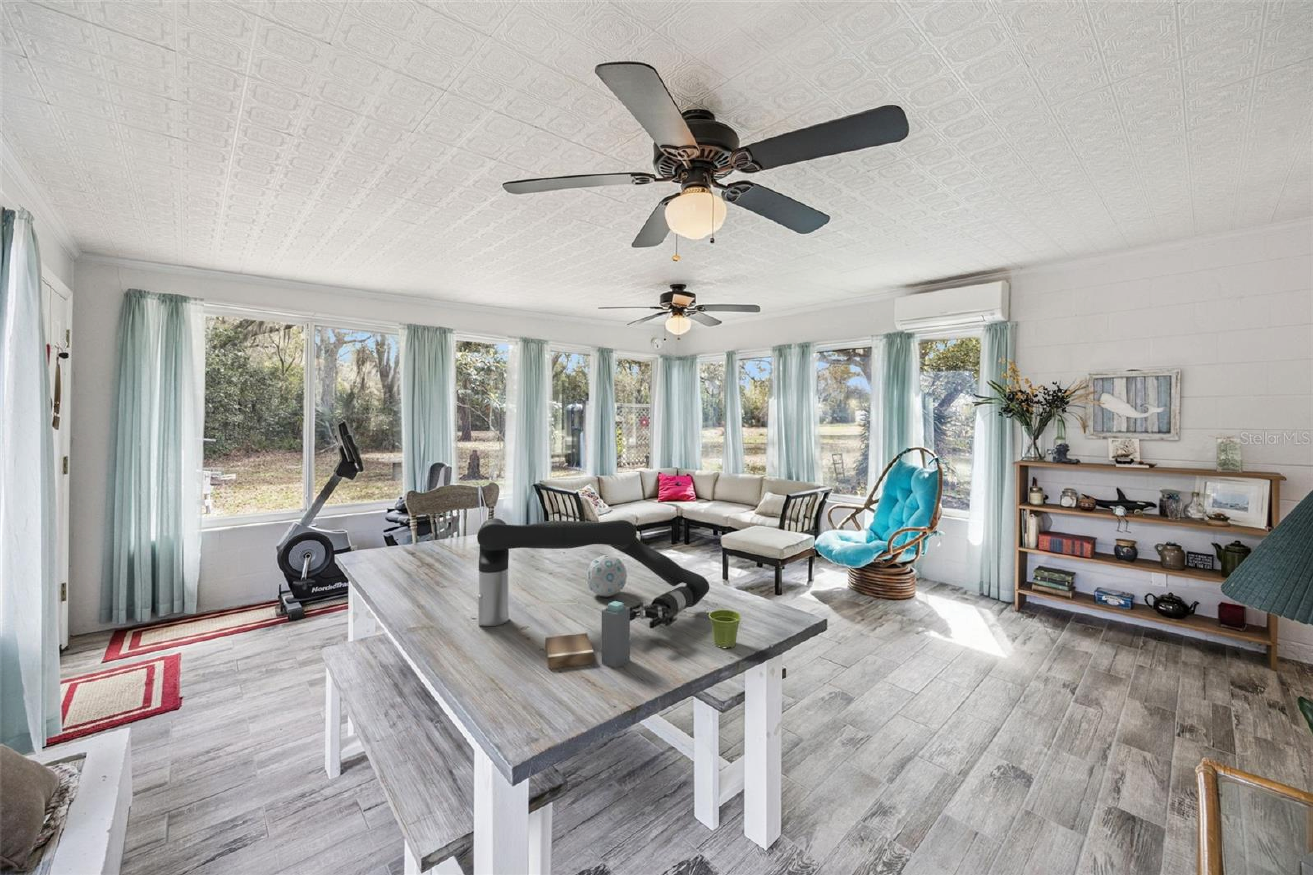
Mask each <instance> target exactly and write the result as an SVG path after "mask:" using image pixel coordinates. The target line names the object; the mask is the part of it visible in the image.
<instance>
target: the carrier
mask: <svg viewBox="0 0 1313 875" xmlns="http://www.w3.org/2000/svg"><path fill="white" fill-rule="evenodd" d="M630 629H631V621H630V608H629V606H625V605H624V610H622V611H620V612H618V613H612V612H609V611H608V607H606V608H604V609H602V610H601V664H603V665H606V666H609V667H611V668H614V669H617V668H619V667H621V666H622V665H624V664H625V663H627V662H628V661H630V659H631V658H630V656H631V652H630V650H631V648H630V647H631V645H630V644H631V640H630V637H631V635H630V634H631V630H630ZM620 665H621V666H620Z"/></svg>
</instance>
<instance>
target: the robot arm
mask: <svg viewBox="0 0 1313 875" xmlns="http://www.w3.org/2000/svg"><path fill="white" fill-rule="evenodd" d="M637 533H638V532H637V528H636V526H635V525H634V524H633V523H632V522H631V521H629V520H626V519H618V520H610V521H608V520H607V521H599V522H595V521H593V522H592V521H580V520H578V521H577V520H548V521H547V520H546V521H540V522H535V523H530V524H522V525H521V524H519V525H518V524H507V522H505V521H504V520H502V519H500V518H498V517H497V518H496V517H493V518H490V519H487V520H486V521H484V522H483V523H482V524H481V526H480V528H479V529H478V532H477V535H476V537H477V538H476V539H477V543H478V545H479V558H478V599H477V600H478V602H477V604H478V610H477V611H478V626H485V627H496V626H500V625H503V624H505V623H508V621H509V619H510V616H509V610H510V609H509V607H510V606H509V605H510V604H509V603H510V602H509V599H510V598H509V561H510V560H509V557H510V553H509V552H510V551H509V550H511V549H524V548H525V549H541V550H542V549H546V550H547V549H548V550H564V549H565V550H566V549H568V550H569V549H575V548H580V547H586V546H592V545H608V546H611V547H612V548H613V549H615V550H618V551H619V552H620V553H623V554H625V555H627V556H629V557H630V558H632V559H634V560H635V561H637V562H638V563H640V564H642V565H643V566H644V567H646V569H648V570H650V571H651V572H652V573H654V574H655V575H657V576H658V577H659V578H660V579H662V580H663V581H665V583H667V584H668V585H670V586H672V587H675V588H674V589H671V590H669V591H666V592H664V593H663V594H662V593H661V595H659V596H657V597H655V598H654V599H653V600H652V602H651V603H650V604H647V605H644V603H643V602H639V603H636V604H634V605H632V606H630V607H629V606H628V607H629V608H630V622H631V621H633V620H635V619H641V620H645V619H651V620H650V621H649V629H651V630H652V629H654V628H657V627H658V626H663V625H664V626H665V627H668V626H670V625H672V624H673V623H674V622H676V621H677V620H678V615H679V614H680V613H681V612H682V611H684V610H685V609H687V608H692V607H694V606H696V605H697V604H699V602H700V601H701V600H702V599H703V598H704V597H705V596H706V595H707V594H708V592H709V591H710V588H711V587H710V583H709V581H708V580H707V578H705V577H704V576H703V575H701V574H699V573H696V572H694V571H691V570H689V569H686V568H684V567H682V566H680V565H679V564H678V563H677V562H675V561H674V560H672V559H671V558H670V557H668V556H667V555H665V554H664V553H663V554H662V553H661V552H659V551H657V550H655V549H653V548H651V547H649V546H648V545H647V544H645V543H644V542H642V541H641V540H640V539H639V538H637ZM681 583H683V584H685V585H684V586H683V585H682V586H678V585H680V584H681ZM676 586H678V587H676Z"/></svg>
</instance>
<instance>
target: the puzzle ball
mask: <svg viewBox="0 0 1313 875" xmlns="http://www.w3.org/2000/svg"><path fill="white" fill-rule="evenodd" d="M586 570H587V571H586V582H587V585H588V587H589V590H591V591H592V592H593V594H595V595H598V596H599V597H605V598H608V597H609V598H610V597H611V596H615V595H617V594H618V593H619V592H621V591H622V590H623V589H624V587H625V585H626V583H627V577H628V575H627V574H628V573H627V570H626V565H625V564H624V563H623V562H622V561H621V560H620V559H619V558H618V557H616V556H614V555H609V554H608V555H607V554H605V555H604V554H603V555H601V556H598V557H596V558H595V559H593V560H592V561H591V563H589V566H587V569H586Z"/></svg>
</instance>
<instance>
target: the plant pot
mask: <svg viewBox="0 0 1313 875" xmlns="http://www.w3.org/2000/svg"><path fill="white" fill-rule="evenodd" d="M708 617H709V621H710V623H711V628H712V634H713V642H714V645H715V646H716V647H717V646H720V647H728V648H729V647H732V648H734V647H735V646H736V644H737V636H738V629H739V624H740V621H741V619H742V615H741V614H740V613H739V612H737V611H734V610H729V609H717V610H713V611H711V612H710V613H709V614H708ZM733 646H734V647H733Z"/></svg>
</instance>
